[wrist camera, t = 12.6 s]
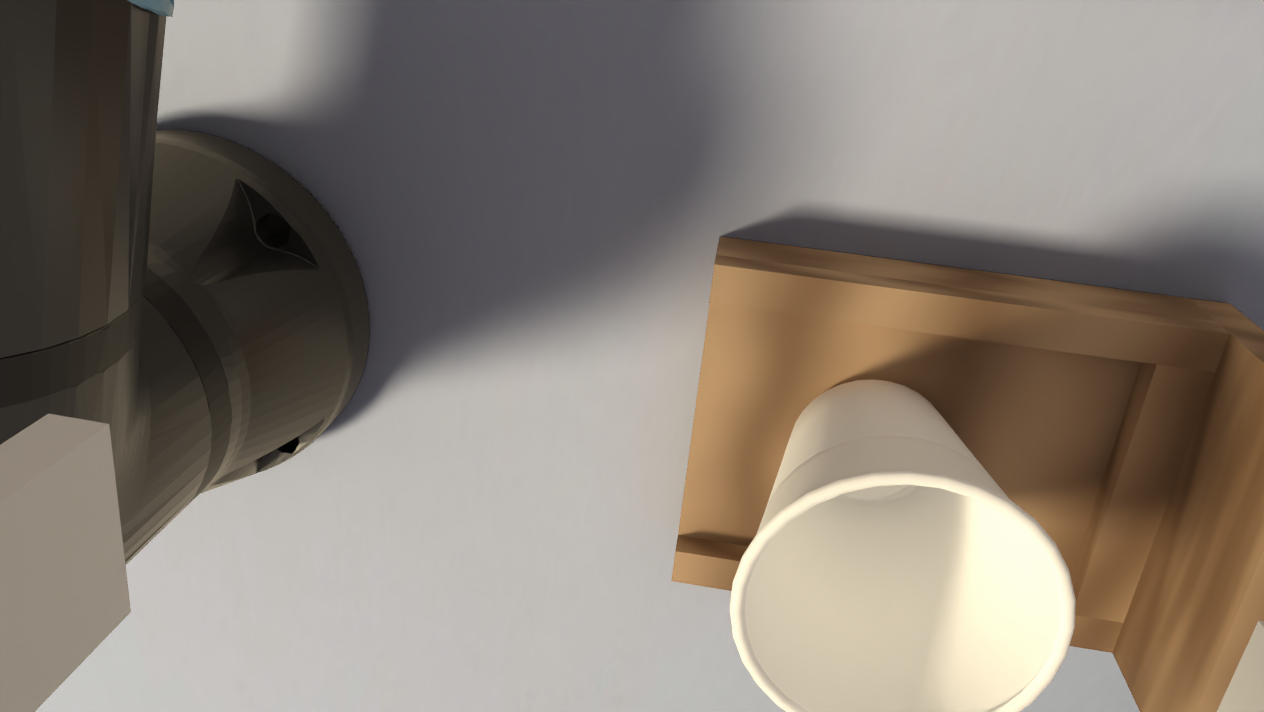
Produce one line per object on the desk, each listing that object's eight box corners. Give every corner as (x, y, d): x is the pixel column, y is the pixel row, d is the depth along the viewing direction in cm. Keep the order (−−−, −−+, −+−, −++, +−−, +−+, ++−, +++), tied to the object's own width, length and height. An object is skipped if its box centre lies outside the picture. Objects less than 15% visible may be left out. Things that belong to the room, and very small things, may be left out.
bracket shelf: (679, 532, 45) (654, 684, 36) (720, 236, 39) (702, 326, 30) (1121, 602, 43) (1214, 781, 34) (1229, 303, 37) (1375, 420, 28)
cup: (1031, 509, 39) (1118, 706, 29) (795, 579, 42) (800, 780, 32) (950, 291, 36) (1018, 426, 26) (702, 381, 39) (677, 534, 29)
